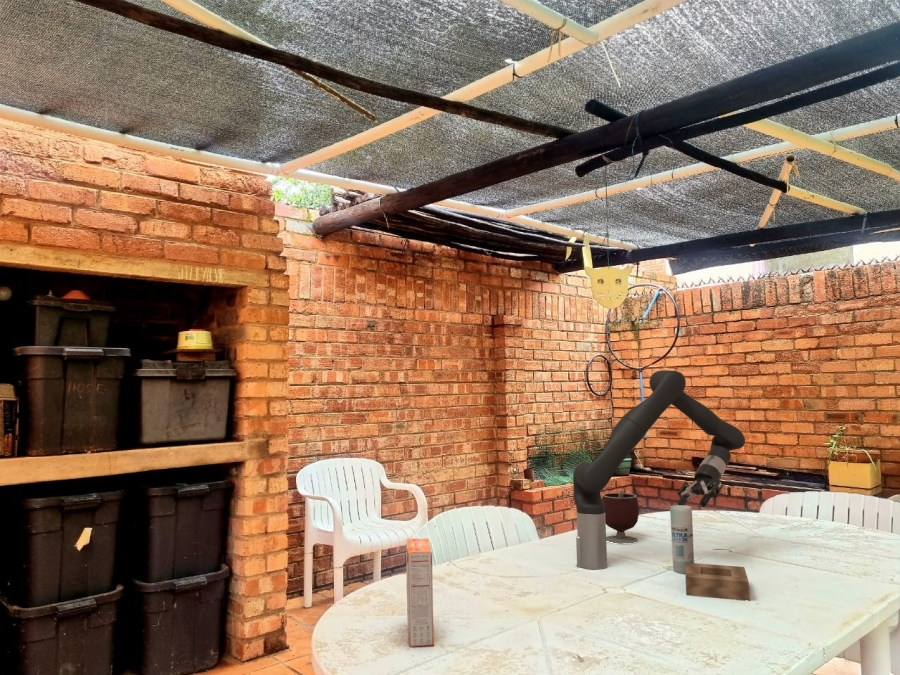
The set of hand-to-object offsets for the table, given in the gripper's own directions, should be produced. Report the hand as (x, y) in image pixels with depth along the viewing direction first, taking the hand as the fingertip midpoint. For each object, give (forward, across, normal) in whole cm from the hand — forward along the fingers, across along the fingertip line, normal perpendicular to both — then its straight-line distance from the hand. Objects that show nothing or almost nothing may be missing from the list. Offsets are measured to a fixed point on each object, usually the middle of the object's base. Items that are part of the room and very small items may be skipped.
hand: (690, 505), depth 206 cm
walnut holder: (+24, +15, +10) cm, 30 cm away
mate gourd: (-1, -43, +17) cm, 47 cm away
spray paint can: (+16, -3, +12) cm, 21 cm away
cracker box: (+93, -2, -45) cm, 103 cm away
